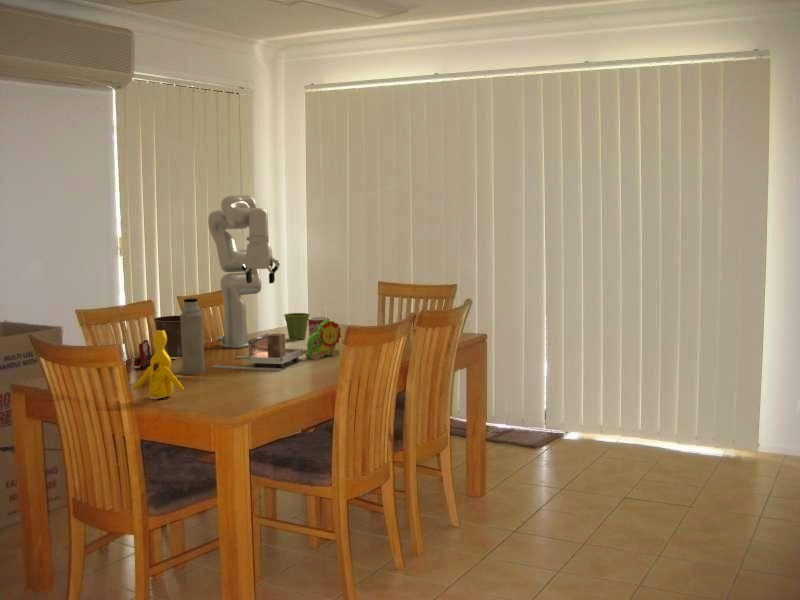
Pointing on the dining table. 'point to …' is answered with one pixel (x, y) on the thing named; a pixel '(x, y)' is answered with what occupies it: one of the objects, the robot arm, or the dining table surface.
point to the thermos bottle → (192, 338)
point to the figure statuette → (159, 370)
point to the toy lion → (324, 340)
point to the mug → (315, 327)
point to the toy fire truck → (144, 354)
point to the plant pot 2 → (296, 325)
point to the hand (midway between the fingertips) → (260, 282)
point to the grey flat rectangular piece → (249, 367)
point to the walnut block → (276, 345)
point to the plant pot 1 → (171, 334)
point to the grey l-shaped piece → (260, 353)
